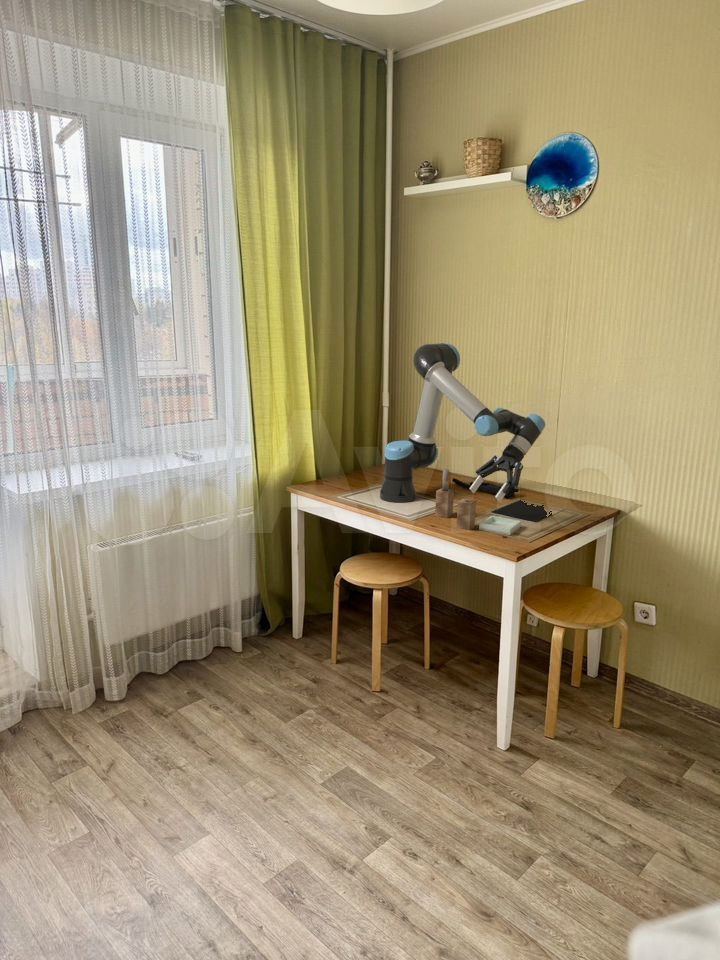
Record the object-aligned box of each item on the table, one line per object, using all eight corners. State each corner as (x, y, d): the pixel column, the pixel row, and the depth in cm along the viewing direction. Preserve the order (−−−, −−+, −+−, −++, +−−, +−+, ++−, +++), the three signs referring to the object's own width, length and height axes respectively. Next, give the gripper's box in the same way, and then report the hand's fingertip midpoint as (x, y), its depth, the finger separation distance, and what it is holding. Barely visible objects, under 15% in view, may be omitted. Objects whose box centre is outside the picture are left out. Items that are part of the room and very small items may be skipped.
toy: (448, 489, 310) (506, 500, 290) (448, 479, 309) (507, 489, 289) (460, 485, 317) (518, 495, 297) (460, 475, 316) (518, 485, 296)
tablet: (536, 522, 259) (489, 512, 271) (535, 524, 259) (488, 514, 271) (566, 508, 279) (521, 499, 291) (566, 510, 279) (521, 500, 292)
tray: (479, 529, 251) (479, 523, 250) (491, 521, 260) (491, 515, 260) (509, 535, 245) (510, 529, 244) (520, 527, 254) (521, 520, 254)
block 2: (456, 527, 253) (457, 501, 250) (462, 524, 257) (463, 498, 254) (469, 530, 250) (470, 503, 248) (474, 526, 254) (476, 500, 252)
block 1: (435, 515, 267) (437, 470, 262) (440, 512, 271) (442, 467, 266) (447, 518, 264) (449, 472, 260) (452, 514, 268) (454, 469, 264)
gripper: (546, 462, 250) (514, 509, 246) (497, 450, 270) (466, 493, 266) (537, 450, 246) (503, 496, 241) (487, 438, 266) (456, 481, 262)
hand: (484, 495), depth 254 cm, fingers open, 13 cm apart
